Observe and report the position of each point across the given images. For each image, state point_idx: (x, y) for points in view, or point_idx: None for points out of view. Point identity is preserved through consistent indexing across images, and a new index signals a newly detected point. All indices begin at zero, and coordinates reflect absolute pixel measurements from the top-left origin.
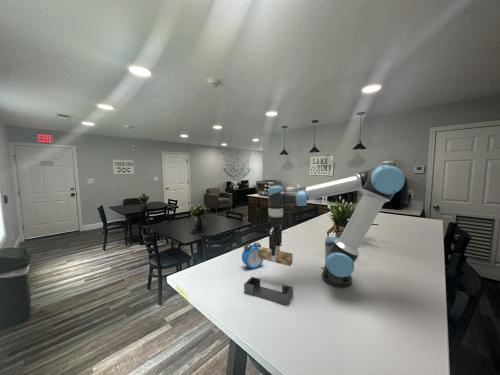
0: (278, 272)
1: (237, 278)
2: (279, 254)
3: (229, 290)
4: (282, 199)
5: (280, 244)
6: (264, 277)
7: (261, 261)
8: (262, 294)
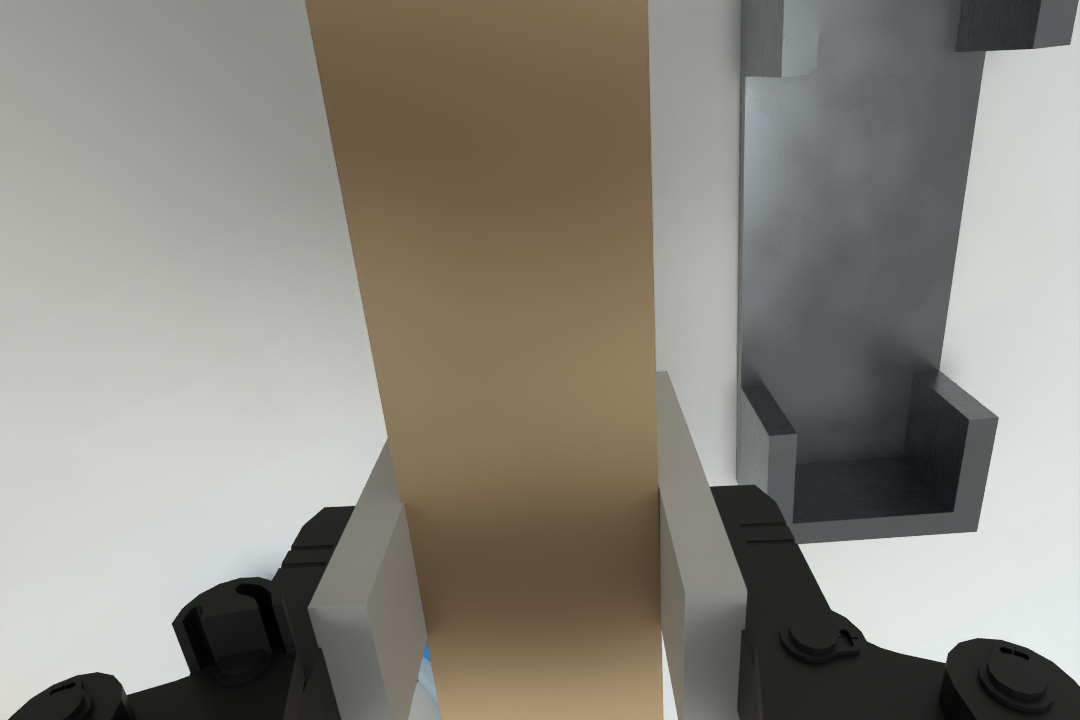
0: (283, 360)
1: None
2: (654, 388)
3: (925, 596)
4: None
5: (219, 659)
6: None
7: None
8: (899, 284)
